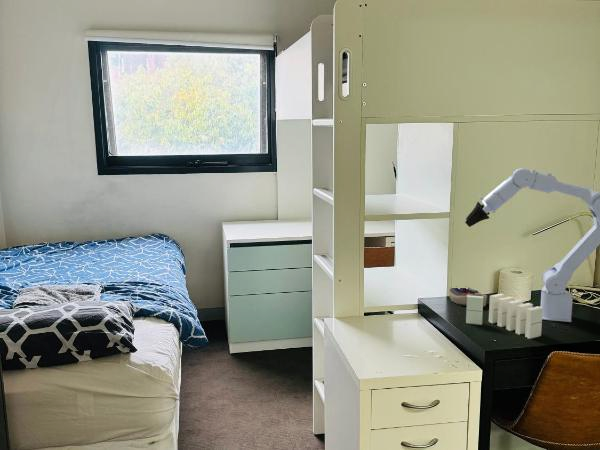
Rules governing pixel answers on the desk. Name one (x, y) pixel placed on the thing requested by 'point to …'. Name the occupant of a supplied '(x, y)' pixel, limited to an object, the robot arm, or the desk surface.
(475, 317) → the domino
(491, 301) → the domino
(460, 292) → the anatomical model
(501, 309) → the domino
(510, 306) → the domino
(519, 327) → the domino
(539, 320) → the domino
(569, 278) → the robot arm
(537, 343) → the desk surface
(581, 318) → the desk surface
